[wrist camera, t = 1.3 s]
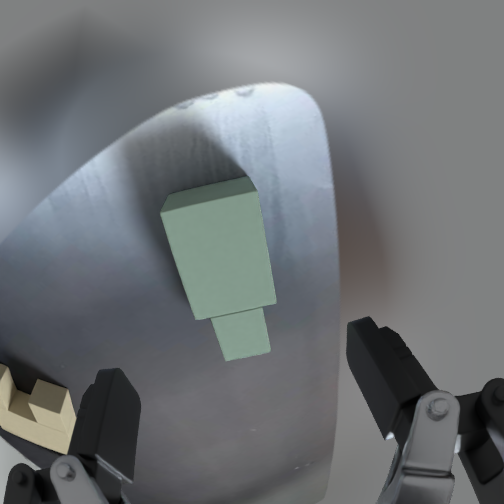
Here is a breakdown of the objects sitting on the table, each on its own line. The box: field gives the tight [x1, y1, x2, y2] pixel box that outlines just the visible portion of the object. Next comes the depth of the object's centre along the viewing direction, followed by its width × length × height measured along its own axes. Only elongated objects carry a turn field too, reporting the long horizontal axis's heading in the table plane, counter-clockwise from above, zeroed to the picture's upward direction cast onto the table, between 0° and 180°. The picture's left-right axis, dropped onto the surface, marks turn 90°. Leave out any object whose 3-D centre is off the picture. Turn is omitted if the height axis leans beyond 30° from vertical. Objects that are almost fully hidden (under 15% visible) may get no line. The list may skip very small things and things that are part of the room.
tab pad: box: [160, 176, 277, 361], centre depth 18 cm, size 11×5×4 cm, turn 10°
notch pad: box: [0, 364, 76, 455], centre depth 23 cm, size 12×12×4 cm
